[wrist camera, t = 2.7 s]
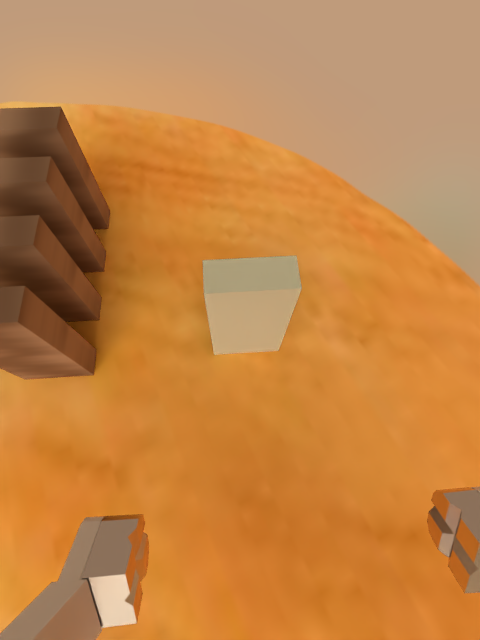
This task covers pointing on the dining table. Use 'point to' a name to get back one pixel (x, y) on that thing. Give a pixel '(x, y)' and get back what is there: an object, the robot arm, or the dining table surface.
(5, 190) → the walnut domino
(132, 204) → the dining table surface
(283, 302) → the sage domino
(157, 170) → the dining table surface
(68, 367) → the walnut domino
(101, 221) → the walnut domino
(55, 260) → the walnut domino
